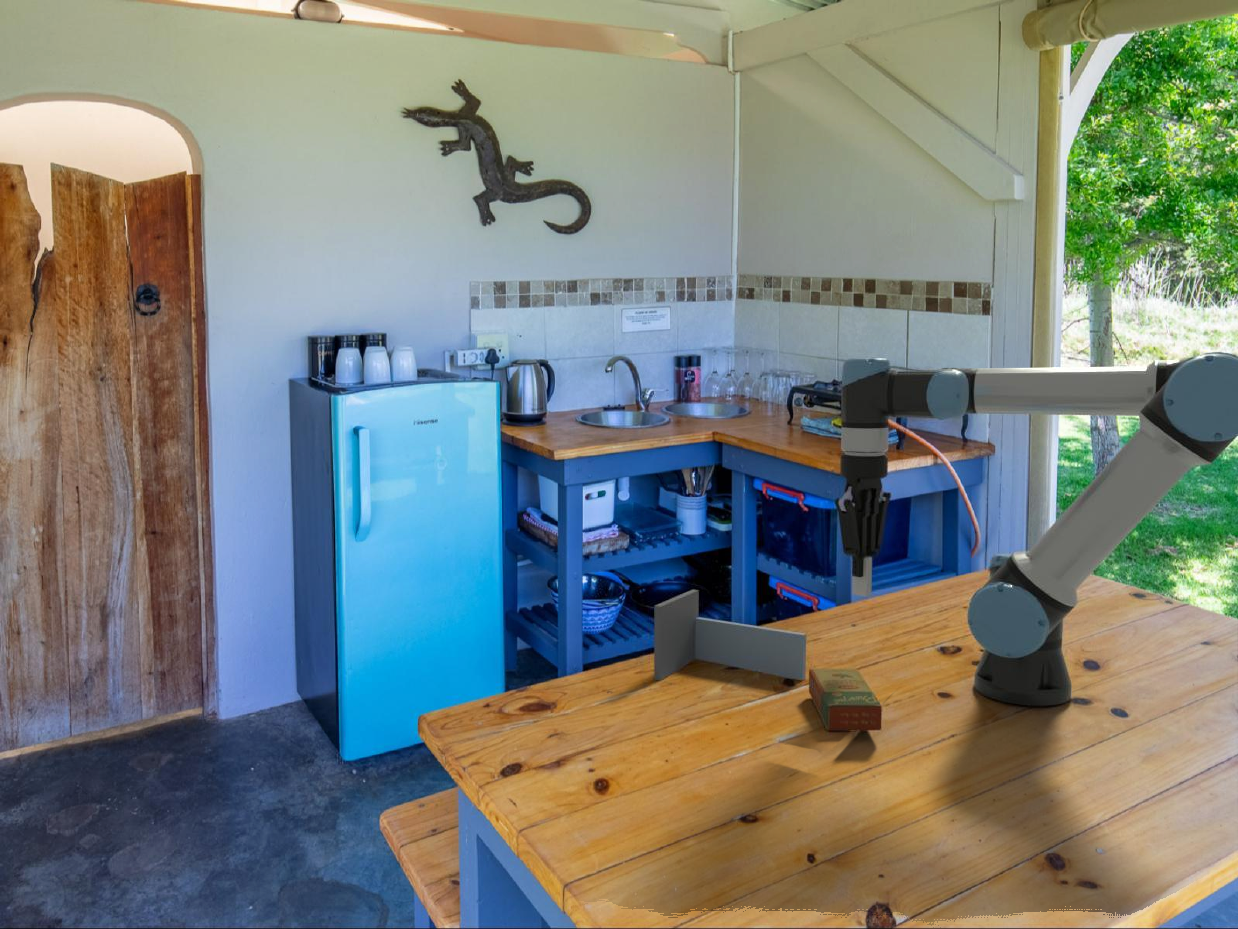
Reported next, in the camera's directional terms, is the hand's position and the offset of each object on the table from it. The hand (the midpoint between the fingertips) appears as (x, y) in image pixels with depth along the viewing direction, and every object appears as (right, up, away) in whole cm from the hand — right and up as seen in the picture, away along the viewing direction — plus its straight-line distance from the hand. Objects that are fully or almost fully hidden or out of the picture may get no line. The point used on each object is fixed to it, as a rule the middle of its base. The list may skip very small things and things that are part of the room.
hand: (861, 595), depth 174 cm
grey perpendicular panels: (-21, -15, +8) cm, 27 cm away
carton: (-6, -19, -3) cm, 20 cm away
